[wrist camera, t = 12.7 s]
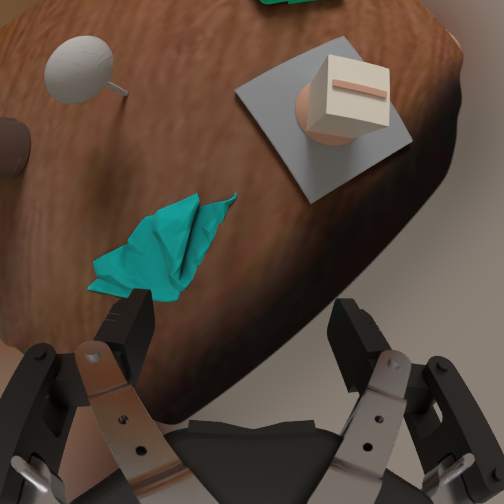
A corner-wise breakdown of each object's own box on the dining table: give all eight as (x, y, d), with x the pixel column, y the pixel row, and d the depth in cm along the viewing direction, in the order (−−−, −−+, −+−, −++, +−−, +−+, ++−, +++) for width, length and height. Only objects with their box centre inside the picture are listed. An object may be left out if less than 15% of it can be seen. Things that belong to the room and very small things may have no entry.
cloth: (103, 319, 39) (96, 326, 37) (67, 236, 36) (59, 240, 34) (265, 274, 36) (266, 281, 34) (231, 169, 33) (229, 169, 31)
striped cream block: (306, 130, 30) (326, 112, 20) (309, 86, 28) (329, 52, 18) (352, 138, 30) (390, 126, 20) (354, 94, 28) (390, 68, 18)
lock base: (235, 92, 30) (230, 75, 24) (341, 38, 27) (355, 17, 21) (309, 202, 33) (320, 209, 27) (409, 141, 31) (434, 137, 25)
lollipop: (105, 75, 29) (38, 40, 14) (153, 65, 29) (97, 15, 14) (101, 123, 31) (25, 106, 16) (149, 115, 31) (84, 85, 16)
